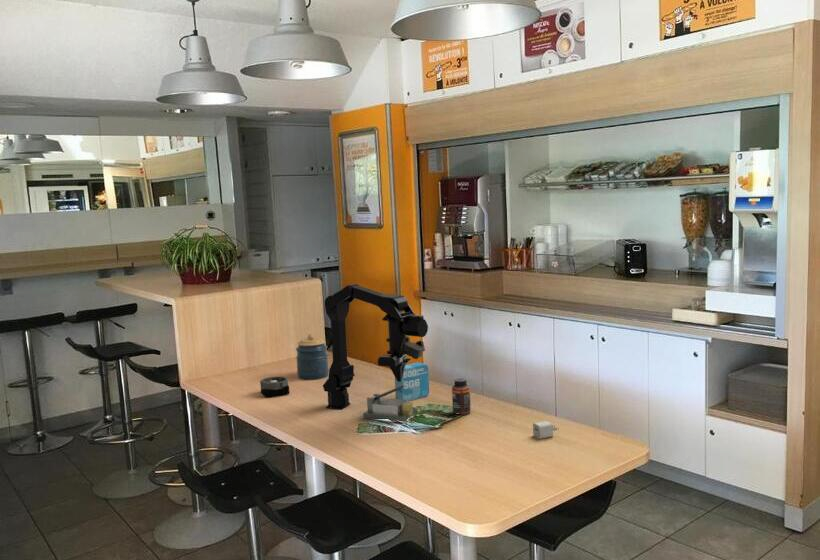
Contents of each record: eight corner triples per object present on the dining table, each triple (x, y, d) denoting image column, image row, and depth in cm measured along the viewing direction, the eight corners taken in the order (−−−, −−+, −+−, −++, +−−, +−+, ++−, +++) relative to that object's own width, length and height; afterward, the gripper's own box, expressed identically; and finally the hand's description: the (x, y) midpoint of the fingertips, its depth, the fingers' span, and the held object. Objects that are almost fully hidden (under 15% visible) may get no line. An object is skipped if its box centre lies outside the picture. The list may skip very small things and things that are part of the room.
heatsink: (363, 419, 234) (362, 399, 233) (377, 410, 243) (376, 391, 242) (404, 423, 228) (403, 403, 227) (417, 414, 236) (416, 395, 236)
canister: (333, 372, 298) (331, 330, 296) (322, 380, 286) (320, 337, 283) (304, 371, 301) (301, 330, 299) (292, 379, 289) (289, 337, 286)
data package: (402, 402, 251) (401, 369, 249) (395, 399, 254) (393, 367, 253) (429, 396, 257) (428, 363, 256) (422, 393, 261) (421, 361, 260)
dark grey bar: (370, 403, 236) (368, 398, 236) (374, 400, 239) (372, 396, 239) (401, 390, 231) (399, 385, 231) (404, 388, 233) (402, 383, 233)
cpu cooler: (258, 378, 271) (284, 374, 275) (259, 392, 272) (285, 389, 276) (263, 384, 262) (290, 380, 266) (264, 399, 262) (291, 395, 266)
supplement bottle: (473, 410, 238) (472, 377, 236) (467, 416, 232) (465, 382, 231) (456, 409, 240) (455, 376, 239) (450, 414, 235) (448, 381, 233)
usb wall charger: (533, 435, 212) (532, 422, 211) (553, 431, 214) (553, 419, 214) (540, 439, 208) (539, 426, 207) (560, 435, 210) (560, 422, 210)
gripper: (407, 341, 218) (409, 391, 220) (431, 330, 235) (433, 376, 237) (375, 339, 223) (378, 388, 225) (401, 328, 240) (403, 373, 242)
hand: (399, 381), depth 232 cm, fingers closed
